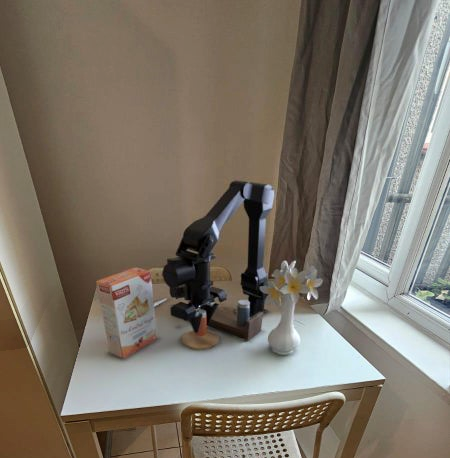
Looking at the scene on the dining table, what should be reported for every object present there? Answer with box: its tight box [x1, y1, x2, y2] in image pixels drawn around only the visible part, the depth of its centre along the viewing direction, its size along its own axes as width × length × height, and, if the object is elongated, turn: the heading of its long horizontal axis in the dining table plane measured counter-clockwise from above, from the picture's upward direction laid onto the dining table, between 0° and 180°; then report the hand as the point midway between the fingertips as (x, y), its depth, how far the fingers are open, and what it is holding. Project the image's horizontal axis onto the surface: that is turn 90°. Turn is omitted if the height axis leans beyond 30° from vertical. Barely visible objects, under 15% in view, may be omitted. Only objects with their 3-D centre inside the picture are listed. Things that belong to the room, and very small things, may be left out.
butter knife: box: [153, 298, 168, 308], centre depth 116 cm, size 1×27×3 cm
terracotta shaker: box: [194, 309, 208, 336], centre depth 98 cm, size 4×4×7 cm
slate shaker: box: [236, 299, 250, 326], centre depth 103 cm, size 4×4×7 cm
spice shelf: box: [187, 300, 264, 342], centre depth 108 cm, size 8×23×6 cm, turn 55°
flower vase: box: [259, 258, 323, 356], centre depth 90 cm, size 13×18×25 cm
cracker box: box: [95, 266, 158, 359], centre depth 92 cm, size 14×6×21 cm, turn 148°
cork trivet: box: [181, 330, 219, 351], centre depth 101 cm, size 11×11×1 cm
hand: (200, 329), depth 100 cm, fingers closed on terracotta shaker, 4 cm apart
